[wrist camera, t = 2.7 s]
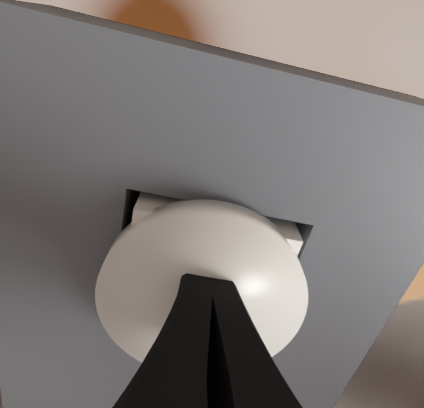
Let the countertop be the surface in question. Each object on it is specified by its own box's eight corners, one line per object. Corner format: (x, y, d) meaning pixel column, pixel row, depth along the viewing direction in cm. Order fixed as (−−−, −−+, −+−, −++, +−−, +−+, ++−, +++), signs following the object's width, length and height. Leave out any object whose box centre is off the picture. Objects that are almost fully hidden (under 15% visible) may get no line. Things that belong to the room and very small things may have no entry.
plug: (296, 166, 12) (342, 239, 8) (253, 284, 15) (271, 388, 11) (142, 133, 12) (104, 193, 7) (124, 262, 14) (88, 362, 10)
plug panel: (416, 96, 12) (508, 127, 8) (236, 468, 22) (241, 553, 19) (50, 5, 10) (-34, -7, 7) (46, 447, 21) (13, 533, 17)
